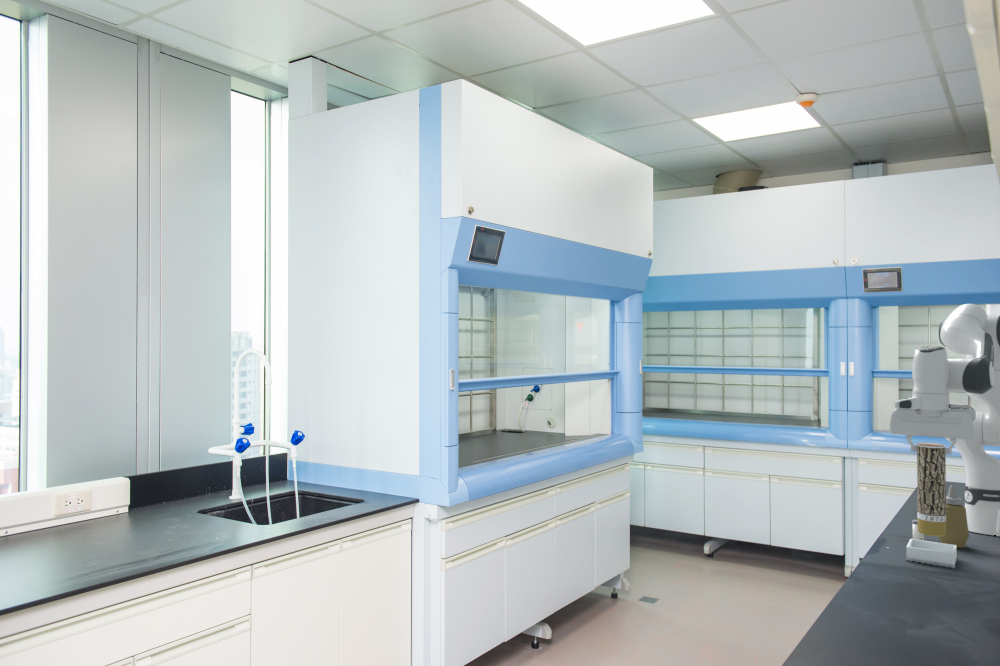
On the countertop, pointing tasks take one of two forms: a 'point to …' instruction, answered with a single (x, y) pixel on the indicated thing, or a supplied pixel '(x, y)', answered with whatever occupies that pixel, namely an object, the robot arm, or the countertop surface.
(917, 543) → the tray
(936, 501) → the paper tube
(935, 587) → the countertop surface
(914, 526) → the sample vial
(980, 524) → the robot arm
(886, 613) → the countertop surface
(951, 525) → the squeeze bottle
